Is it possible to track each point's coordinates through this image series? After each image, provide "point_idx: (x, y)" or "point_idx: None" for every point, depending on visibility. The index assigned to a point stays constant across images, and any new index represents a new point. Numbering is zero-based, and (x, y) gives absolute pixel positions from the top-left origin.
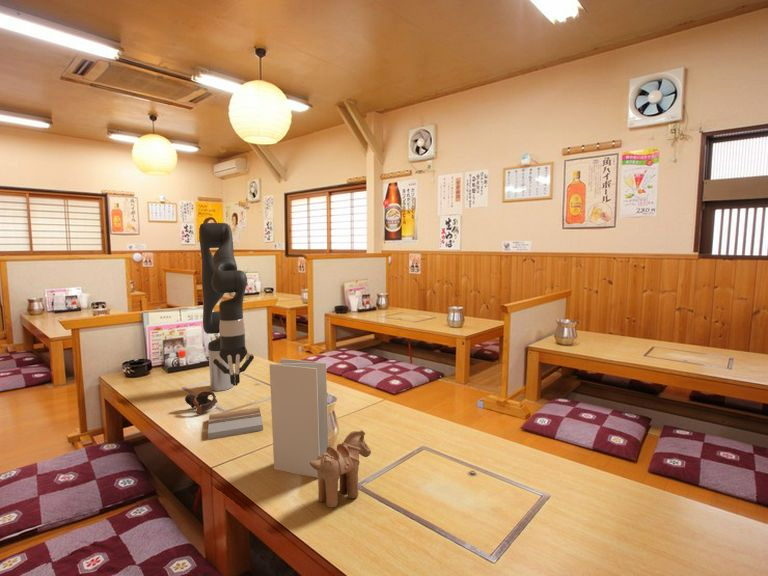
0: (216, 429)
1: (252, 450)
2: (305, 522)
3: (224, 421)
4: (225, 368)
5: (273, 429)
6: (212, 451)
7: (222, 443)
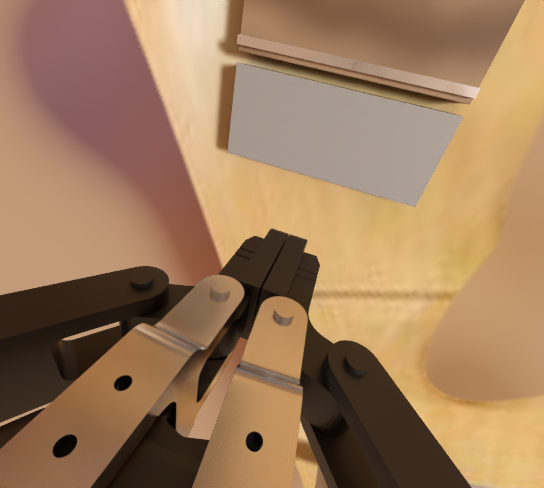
0: (256, 138)
1: (323, 289)
2: (308, 458)
3: (301, 64)
4: (123, 313)
5: (319, 470)
6: (237, 230)
7: (267, 204)
